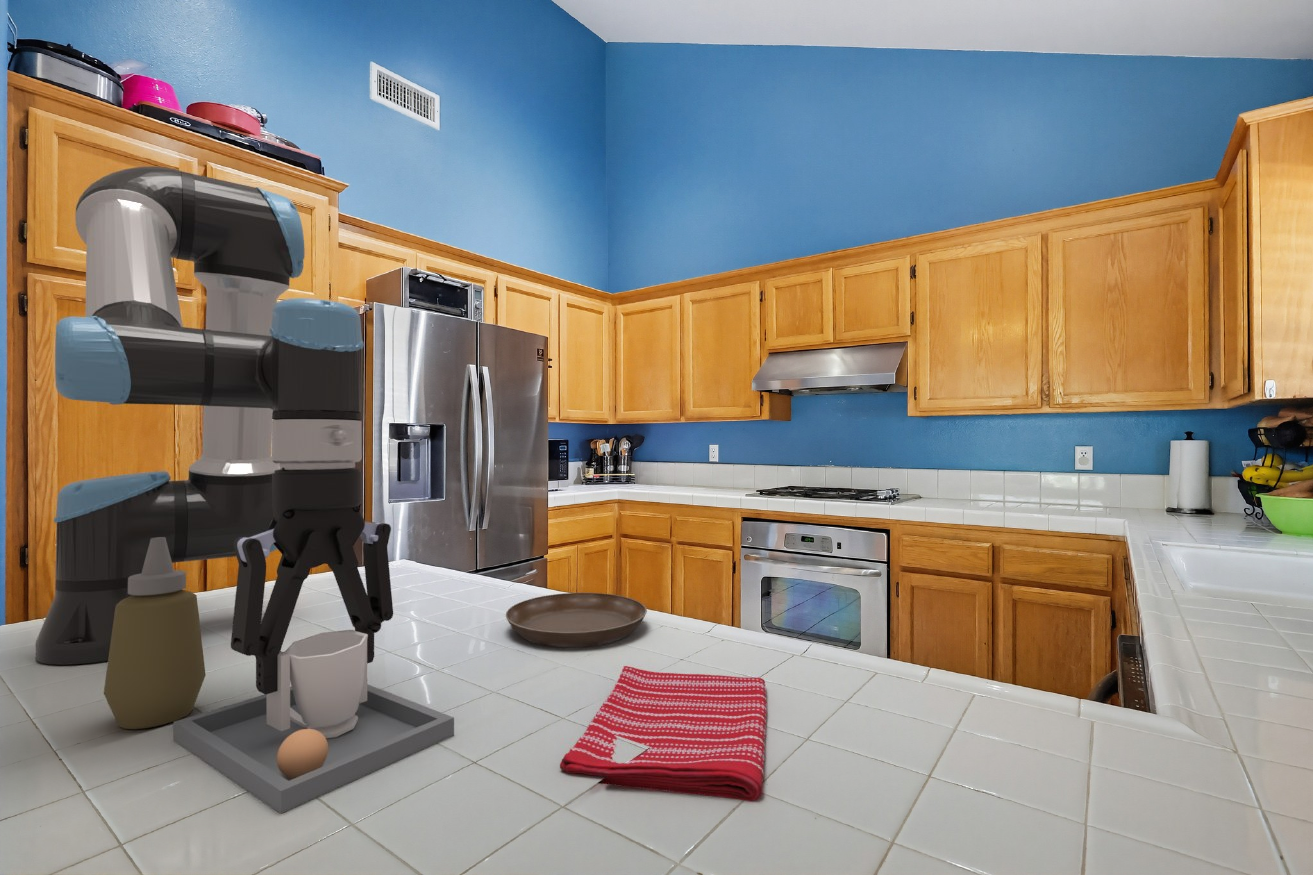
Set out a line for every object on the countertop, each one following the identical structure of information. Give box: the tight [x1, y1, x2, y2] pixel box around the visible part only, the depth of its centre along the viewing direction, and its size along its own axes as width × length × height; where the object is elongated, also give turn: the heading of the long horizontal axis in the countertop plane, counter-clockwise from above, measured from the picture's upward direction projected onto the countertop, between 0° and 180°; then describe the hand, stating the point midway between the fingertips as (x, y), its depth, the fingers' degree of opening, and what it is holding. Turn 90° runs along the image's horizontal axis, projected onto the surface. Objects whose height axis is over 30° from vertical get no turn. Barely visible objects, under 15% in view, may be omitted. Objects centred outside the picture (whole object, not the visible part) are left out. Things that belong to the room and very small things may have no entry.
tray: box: [172, 683, 455, 815], centre depth 58 cm, size 20×15×2 cm
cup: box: [283, 629, 368, 738], centre depth 59 cm, size 7×10×8 cm
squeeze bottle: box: [103, 537, 206, 730], centre depth 64 cm, size 8×8×18 cm
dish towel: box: [559, 665, 768, 802], centre depth 61 cm, size 17×24×3 cm
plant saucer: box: [505, 592, 648, 648], centre depth 94 cm, size 21×21×3 cm
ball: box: [277, 729, 328, 779], centre depth 51 cm, size 4×4×4 cm
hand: (319, 711), depth 59 cm, fingers closed on cup, 6 cm apart
